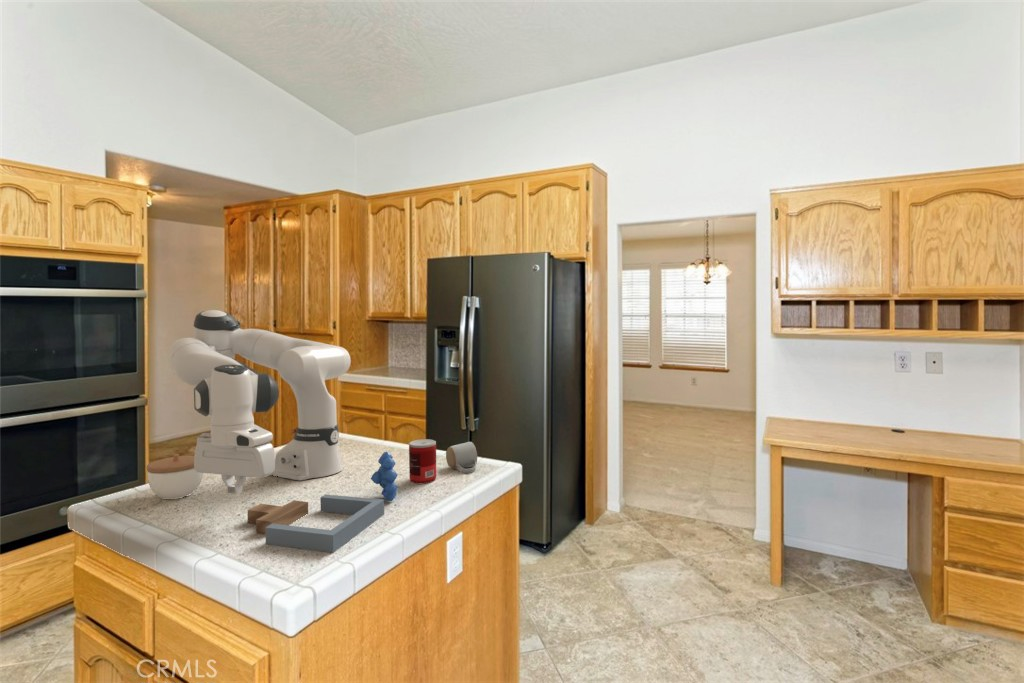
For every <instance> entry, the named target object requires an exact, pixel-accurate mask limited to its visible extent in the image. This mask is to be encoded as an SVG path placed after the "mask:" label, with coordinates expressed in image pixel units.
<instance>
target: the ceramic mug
mask: <svg viewBox="0 0 1024 683" xmlns="http://www.w3.org/2000/svg"><path fill="white" fill-rule="evenodd" d="M445 460H446V463H447V466H448V467H449V468H450V469H451V470H458V471H459V472H461V473H463V474H470V472H471V473H473V472H474V471H475V470H476V467H477V463H478V452H477V449H476V445H475V444H474V442H472V441H467V442H463V443H458V444H455V445H451V446H449V447H447V449H446V451H445Z"/></svg>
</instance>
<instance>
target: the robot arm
mask: <svg viewBox="0 0 1024 683" xmlns="http://www.w3.org/2000/svg"><path fill="white" fill-rule="evenodd" d="M193 327H194V329H193V337H188V336H187V337H182V338H179V339H177V340H175V341H174V342H172V344H170V346H169V348H168V350H167V351H168V352H167V358H168V364H169V366H170V369H171V370H172V372H173V373H174V375H175V376H176V377H177V379H179V380H180V381H181V382H183V383H184V384H187V385H190V386H195V387H194V388H193V404H194V405H193V406H194V410H195V411H196V412H197V413H199V414H200V415H201V416H204V417H209V418H211V420H210V433H208V432H202V433H201V434H200V435H198V437H197V439H196V445H195V448H194V449H195V450H194V468H195V470H196V472H199V473H203V474H211V475H221V481H222V482H223V485H225V487H226V488H225V490H226V494H233V495H239V494H241V493H243V485H244V484H245V482H246V479H247V478H255V479H256V478H257V479H263V478H266V477H270V476H272V475H273V477H277V476H278V478H284V479H287V480H288V479H289V480H294V481H305V480H308V479H309V480H310V479H313V478H314V479H315V478H322V477H327V476H332V475H335V474H338V473H340V472H341V471H343V470H344V466H343V463H342V459H341V454H340V448H339V433H340V432H339V424H338V423H337V422H338V421H337V420H338V419H337V418H338V417H337V416H338V415H337V400H336V398H335V397H334V395H332V394H330V392H329V391H328V389H327V386H326V380H327V381H328V380H332V379H333V380H334V379H336V378H339V377H341V376H342V375H344V374H346V373H347V372H349V370H350V367H351V364H352V363H351V362H352V360H351V355H350V354H349V351H348V350H347V349H346V348H344V347H343V346H338V345H333V344H330V343H329V344H328V343H325V342H318V341H313V340H309V339H301V338H296V337H291V336H289V335H284V334H282V333H278V332H277V333H276V332H275V331H274V332H273V331H270V330H266V329H259V328H244V329H243V328H241V327H242V323H241V322H240V321H238V320H236V319H235V317H234V316H233V315H231V314H229V313H228V312H227V311H223V310H217V309H209V310H204V311H201V312H199V313H197V314H196V315H195V317H194V321H193ZM236 355H238V356H241V358H244V359H246V360H248V361H250V362H252V363H254V364H256V365H260V366H263V367H266V368H270V369H273V370H276V371H277V372H278V374H279V377H280V378H281V379H282V380H283V381H285V383H287V384H288V385H289V386H290V388H291V390H292V392H293V394H294V398H295V400H296V405H297V406H296V408H297V422H298V423H297V424H298V425H297V427H296V428H294V429H291V430H290V434H291V435H292V434H294V435H293V437H292V438H293V439H291V441H289V442H288V443H286V445H284V446H283V447H282V448H281V449H279V450H278V451H277V453H276V455H275V448H274V446H273V444H272V443H271V442H272V441H273V438H274V435H273V433H272V432H271V431H269V430H267V429H265V428H263V427H261V426H259V425H257V424H255V418H254V417H255V416H254V414H253V413H268V412H269V411H270V410H271V409H272V408H274V406H275V405H276V404H277V402H279V401H278V400H279V396H280V389H279V385H278V383H277V381H276V380H275V378H274V377H273V376H272V375H269V374H268V373H267V372H264V373H263V372H262V373H260V372H258V371H257V370H256V369H253V368H252V367H250V366H249V365H247V364H245V363H244V362H242V361H240V360H237V359H235V358H236ZM233 477H234V479H233Z"/></svg>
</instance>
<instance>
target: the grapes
mask: <svg viewBox="0 0 1024 683" xmlns="http://www.w3.org/2000/svg"><path fill="white" fill-rule="evenodd" d="M393 458H394V457H393V455H392V454H391V453H390V452H389V451H384V452H383V453H382V454H381V456H380V457H379V459H378V461H377V462H378V463H379V465H380V466H379V468H378V469H377V470H376V471H375V472H373V474H372V475H371V477H370V480H371V481H372V482H373V483H374V484H376V485H379V486H380V487H381V488H382V489H383V490H382V491H381V495H382V496H383V497H384V498H385V500H387V501H388V502H392V501H394V499H395V498H396V496H397V491H398V488H399V486H398V485H397V483H395V481H396V480H397V478H398V476H399V474H398V473H397V472H396V471H395V470H394V468H395V465H396V462H395V460H394V459H393Z"/></svg>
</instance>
